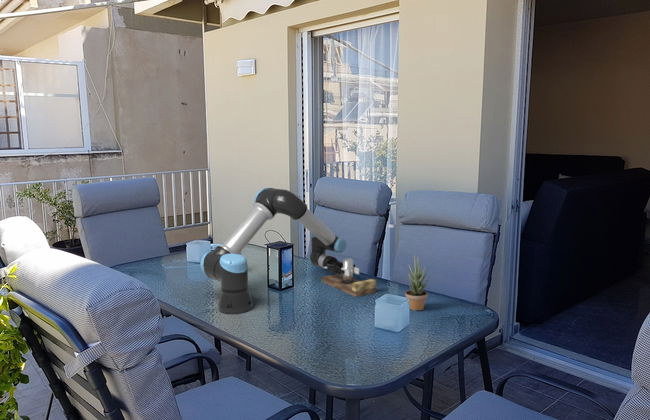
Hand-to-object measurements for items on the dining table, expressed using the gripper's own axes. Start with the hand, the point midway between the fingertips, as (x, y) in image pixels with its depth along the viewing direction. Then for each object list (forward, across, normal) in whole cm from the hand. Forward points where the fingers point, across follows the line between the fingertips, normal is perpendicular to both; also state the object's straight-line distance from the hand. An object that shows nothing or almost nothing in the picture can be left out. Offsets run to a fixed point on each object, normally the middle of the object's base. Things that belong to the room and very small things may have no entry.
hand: (354, 272), depth 252 cm
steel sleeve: (-5, 0, -8) cm, 9 cm away
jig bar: (-5, 0, -8) cm, 10 cm away
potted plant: (+38, -6, -9) cm, 39 cm away
